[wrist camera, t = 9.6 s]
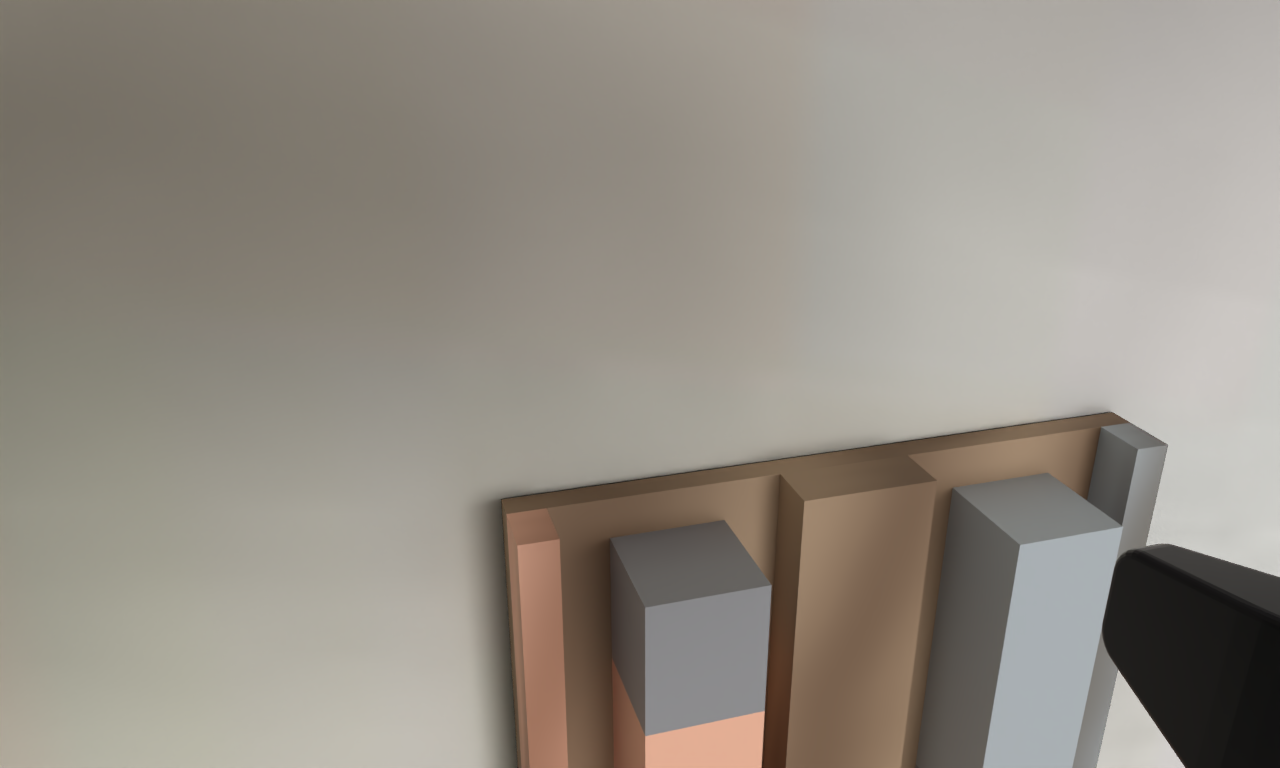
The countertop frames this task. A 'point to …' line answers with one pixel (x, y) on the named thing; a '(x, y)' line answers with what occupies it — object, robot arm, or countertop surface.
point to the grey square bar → (1016, 625)
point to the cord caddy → (801, 583)
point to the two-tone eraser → (688, 649)
